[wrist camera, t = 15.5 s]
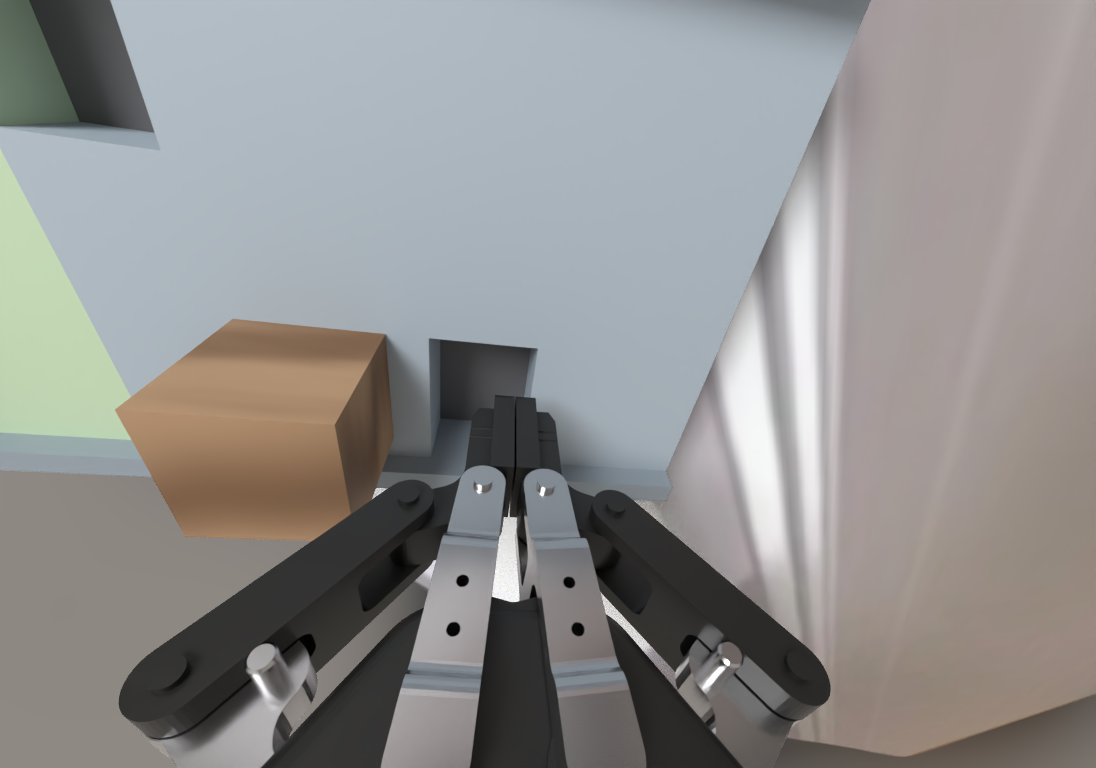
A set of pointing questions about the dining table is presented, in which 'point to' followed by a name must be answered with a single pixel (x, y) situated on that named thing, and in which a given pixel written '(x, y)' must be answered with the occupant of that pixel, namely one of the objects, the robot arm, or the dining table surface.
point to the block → (266, 430)
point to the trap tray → (398, 205)
